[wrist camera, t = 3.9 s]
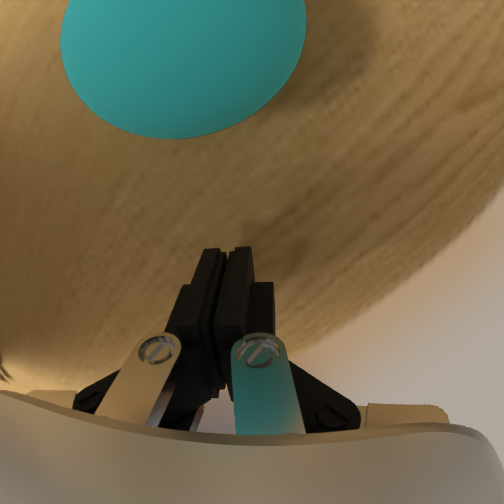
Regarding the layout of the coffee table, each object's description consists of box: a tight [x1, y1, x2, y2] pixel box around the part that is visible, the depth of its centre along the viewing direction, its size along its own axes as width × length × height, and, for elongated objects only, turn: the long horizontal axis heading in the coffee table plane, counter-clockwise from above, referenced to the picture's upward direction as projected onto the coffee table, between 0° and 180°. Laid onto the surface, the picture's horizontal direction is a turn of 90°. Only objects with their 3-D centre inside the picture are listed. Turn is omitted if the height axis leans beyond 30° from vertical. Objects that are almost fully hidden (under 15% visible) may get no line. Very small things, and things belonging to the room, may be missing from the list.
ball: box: [60, 0, 307, 139], centre depth 6 cm, size 6×6×6 cm
